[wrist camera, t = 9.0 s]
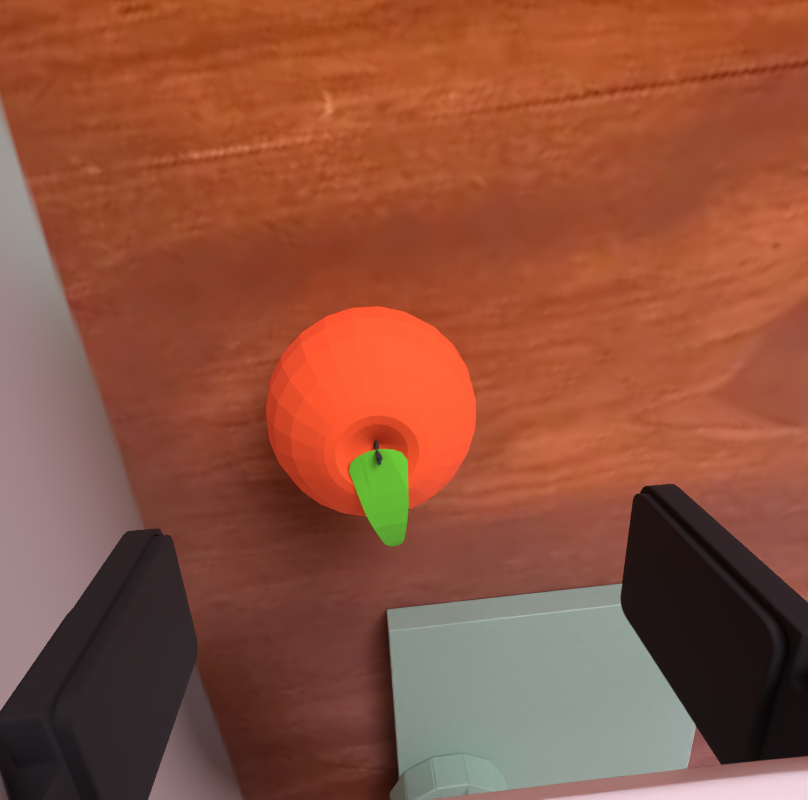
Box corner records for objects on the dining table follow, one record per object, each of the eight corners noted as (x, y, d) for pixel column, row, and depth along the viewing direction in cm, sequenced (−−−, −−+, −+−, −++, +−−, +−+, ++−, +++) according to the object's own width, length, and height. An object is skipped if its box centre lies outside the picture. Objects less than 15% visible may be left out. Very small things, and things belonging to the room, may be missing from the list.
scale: (391, 811, 30) (395, 873, 27) (374, 610, 25) (378, 661, 22) (667, 772, 31) (698, 828, 29) (706, 573, 26) (749, 617, 23)
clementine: (466, 462, 23) (516, 569, 16) (307, 492, 22) (290, 615, 16) (442, 275, 20) (491, 312, 13) (258, 308, 19) (213, 363, 13)
